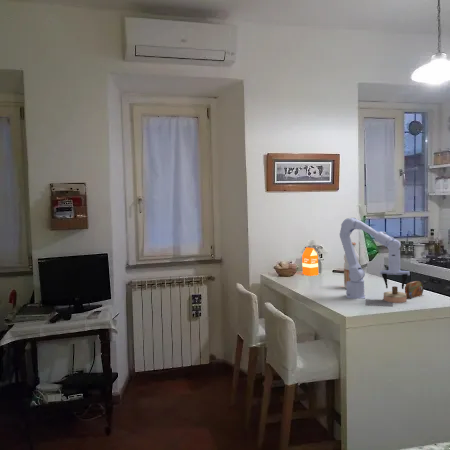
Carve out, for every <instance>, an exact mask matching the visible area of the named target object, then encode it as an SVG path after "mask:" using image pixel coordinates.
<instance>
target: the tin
mask: <svg viewBox="0 0 450 450" xmlns="http://www.w3.org/2000/svg"><path fill="white" fill-rule="evenodd" d="M404 293H406V296H407V298H408V299H413V298H417V297H421V296H423V293H424V284H423V282H422V281H419V280H415V281H410V282H407V283H405V285H404Z"/></svg>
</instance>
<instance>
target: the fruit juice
mask: <svg viewBox="0 0 450 450" xmlns="http://www.w3.org/2000/svg"><path fill="white" fill-rule="evenodd" d="M351 242H352V241H351ZM352 245H353V248H354V251H355V254H356V257H357V260H358V263H359V264H360V258H361V257H360V255H359V253H358V251H357V249H356V242H352ZM343 259H344V263H343V283H344V285H343V286H344V289H346V290H347V281H350V280H351V279H350V278H349V274H350V272H349V263H348V260H347V257H346V254H345V253H344V255H343Z"/></svg>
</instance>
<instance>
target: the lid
mask: <svg viewBox="0 0 450 450" xmlns="http://www.w3.org/2000/svg"><path fill="white" fill-rule="evenodd" d="M384 296H387V297H394V298H401V297H406V293H405V292H401V291H398V286H392V287H391V291H385V292H383V297H384Z"/></svg>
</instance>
